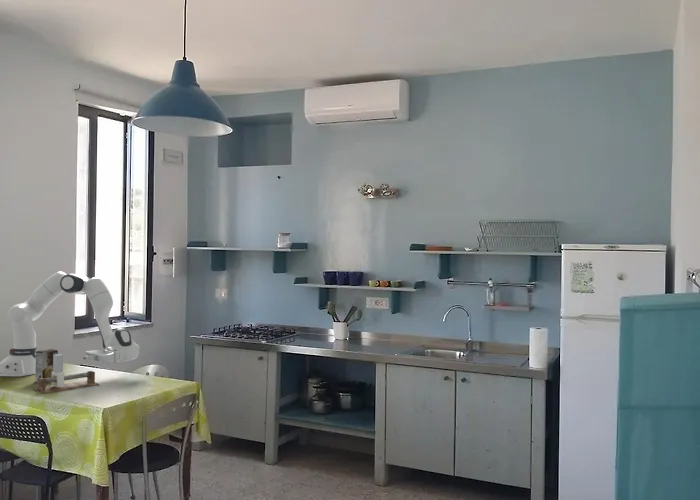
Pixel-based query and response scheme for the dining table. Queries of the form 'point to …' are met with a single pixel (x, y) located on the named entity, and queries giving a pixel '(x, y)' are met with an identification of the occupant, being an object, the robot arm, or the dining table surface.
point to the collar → (58, 370)
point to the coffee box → (44, 363)
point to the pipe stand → (68, 386)
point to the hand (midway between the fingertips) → (84, 358)
